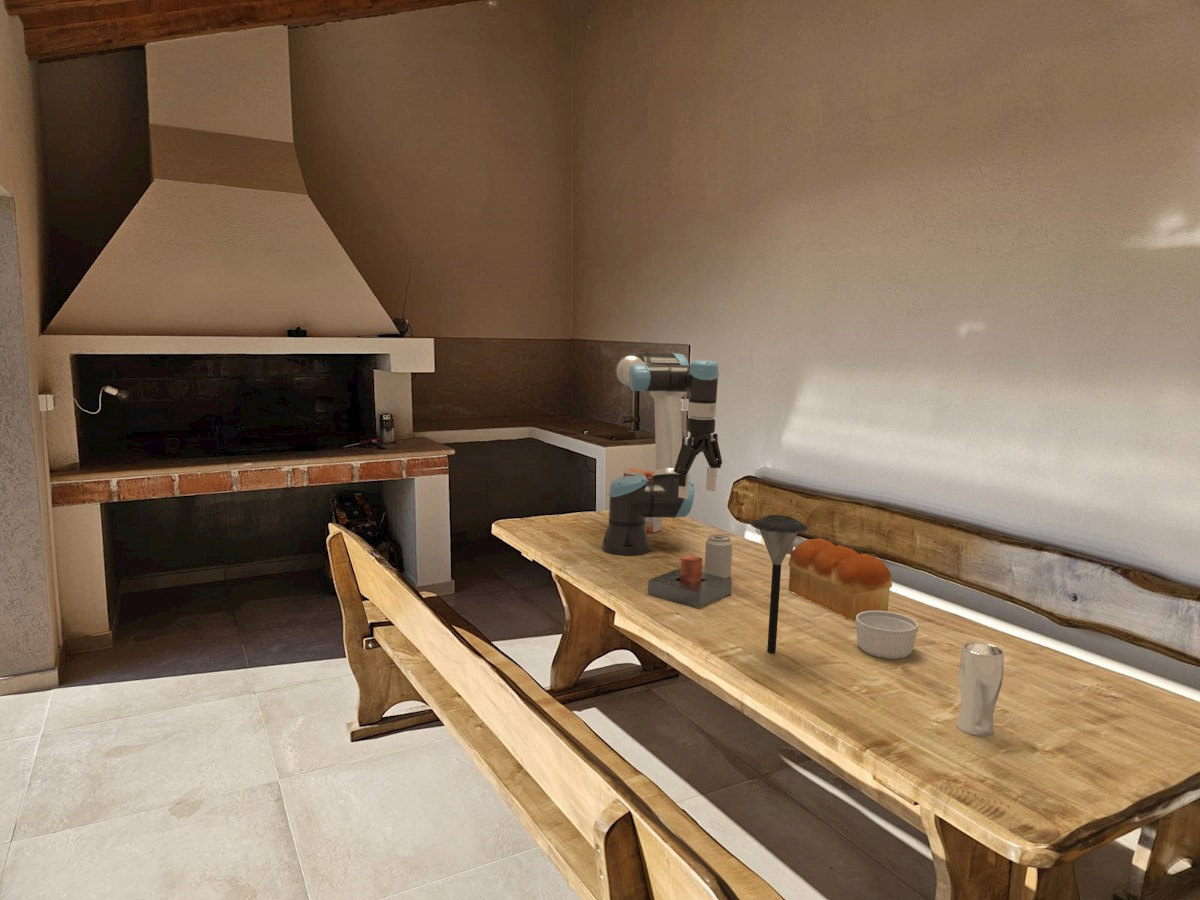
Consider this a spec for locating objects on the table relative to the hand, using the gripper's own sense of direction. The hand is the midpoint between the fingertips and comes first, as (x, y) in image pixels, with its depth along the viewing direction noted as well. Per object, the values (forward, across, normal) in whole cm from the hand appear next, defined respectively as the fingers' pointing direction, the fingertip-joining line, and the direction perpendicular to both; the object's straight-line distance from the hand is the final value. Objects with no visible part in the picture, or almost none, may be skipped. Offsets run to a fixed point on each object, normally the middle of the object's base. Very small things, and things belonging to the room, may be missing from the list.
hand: (697, 494), depth 223 cm
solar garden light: (+24, -31, -41) cm, 57 cm away
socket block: (+25, -10, -6) cm, 27 cm away
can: (+25, +9, -3) cm, 27 cm away
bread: (+25, +12, -37) cm, 46 cm away
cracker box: (+27, +39, +48) cm, 67 cm away
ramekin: (+24, -11, -59) cm, 65 cm away
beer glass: (+23, -37, -86) cm, 96 cm away
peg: (+25, -10, -6) cm, 28 cm away
